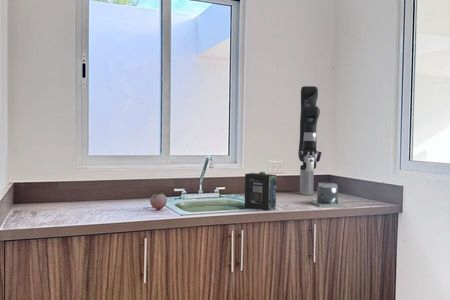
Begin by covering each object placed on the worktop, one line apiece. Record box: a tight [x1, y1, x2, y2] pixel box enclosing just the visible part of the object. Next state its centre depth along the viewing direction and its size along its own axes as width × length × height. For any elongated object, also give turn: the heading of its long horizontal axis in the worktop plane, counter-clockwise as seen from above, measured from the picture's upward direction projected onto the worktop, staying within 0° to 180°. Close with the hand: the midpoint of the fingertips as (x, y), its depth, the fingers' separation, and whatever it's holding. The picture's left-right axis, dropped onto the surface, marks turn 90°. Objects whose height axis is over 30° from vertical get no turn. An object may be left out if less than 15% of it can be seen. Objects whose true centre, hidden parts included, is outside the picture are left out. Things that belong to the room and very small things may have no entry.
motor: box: [309, 182, 347, 208], centre depth 226 cm, size 16×16×12 cm
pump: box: [305, 155, 315, 172], centre depth 225 cm, size 7×5×10 cm
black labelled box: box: [242, 171, 278, 211], centre depth 211 cm, size 8×18×20 cm, turn 53°
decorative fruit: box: [149, 191, 168, 211], centre depth 202 cm, size 9×8×10 cm
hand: (309, 168), depth 226 cm, fingers closed on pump, 5 cm apart
